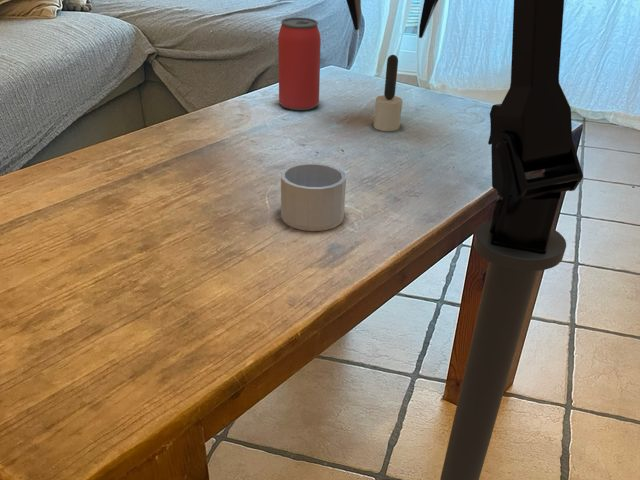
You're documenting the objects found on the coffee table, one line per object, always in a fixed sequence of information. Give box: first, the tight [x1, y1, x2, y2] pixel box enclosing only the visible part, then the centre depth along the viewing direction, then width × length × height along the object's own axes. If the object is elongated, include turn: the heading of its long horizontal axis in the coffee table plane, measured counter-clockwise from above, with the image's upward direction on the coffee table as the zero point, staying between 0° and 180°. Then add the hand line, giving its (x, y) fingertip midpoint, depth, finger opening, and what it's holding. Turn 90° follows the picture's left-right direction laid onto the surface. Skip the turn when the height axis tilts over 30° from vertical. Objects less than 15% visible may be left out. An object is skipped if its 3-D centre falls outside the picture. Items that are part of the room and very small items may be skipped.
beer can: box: [277, 17, 322, 111], centre depth 105 cm, size 7×7×12 cm
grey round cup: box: [280, 162, 347, 232], centre depth 77 cm, size 7×7×5 cm
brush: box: [373, 54, 403, 132], centre depth 99 cm, size 4×4×10 cm
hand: (388, 33), depth 92 cm, fingers open, 9 cm apart
